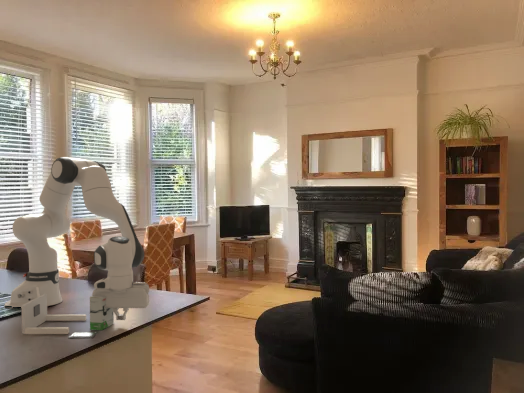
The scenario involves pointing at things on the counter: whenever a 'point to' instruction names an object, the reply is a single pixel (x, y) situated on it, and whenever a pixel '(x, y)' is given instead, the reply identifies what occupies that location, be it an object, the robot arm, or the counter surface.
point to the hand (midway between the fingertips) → (121, 319)
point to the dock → (43, 318)
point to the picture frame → (83, 335)
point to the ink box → (100, 313)
